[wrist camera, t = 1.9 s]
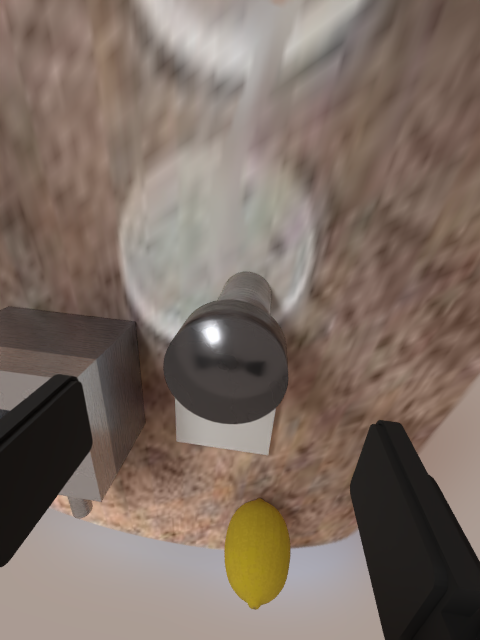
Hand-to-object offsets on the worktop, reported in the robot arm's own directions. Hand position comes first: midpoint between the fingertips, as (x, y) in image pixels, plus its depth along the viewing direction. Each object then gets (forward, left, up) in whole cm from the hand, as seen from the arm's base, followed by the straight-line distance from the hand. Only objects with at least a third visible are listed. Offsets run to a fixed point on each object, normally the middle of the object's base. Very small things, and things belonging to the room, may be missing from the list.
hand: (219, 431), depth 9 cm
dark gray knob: (-1, 0, -11) cm, 11 cm away
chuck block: (+11, -13, -11) cm, 21 cm away
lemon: (+20, +3, -11) cm, 23 cm away
